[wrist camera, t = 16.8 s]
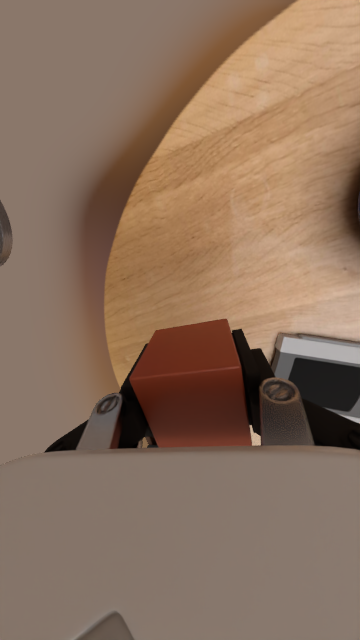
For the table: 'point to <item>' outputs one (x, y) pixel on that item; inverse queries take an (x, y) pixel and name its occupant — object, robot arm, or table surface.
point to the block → (193, 387)
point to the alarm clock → (321, 371)
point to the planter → (359, 207)
